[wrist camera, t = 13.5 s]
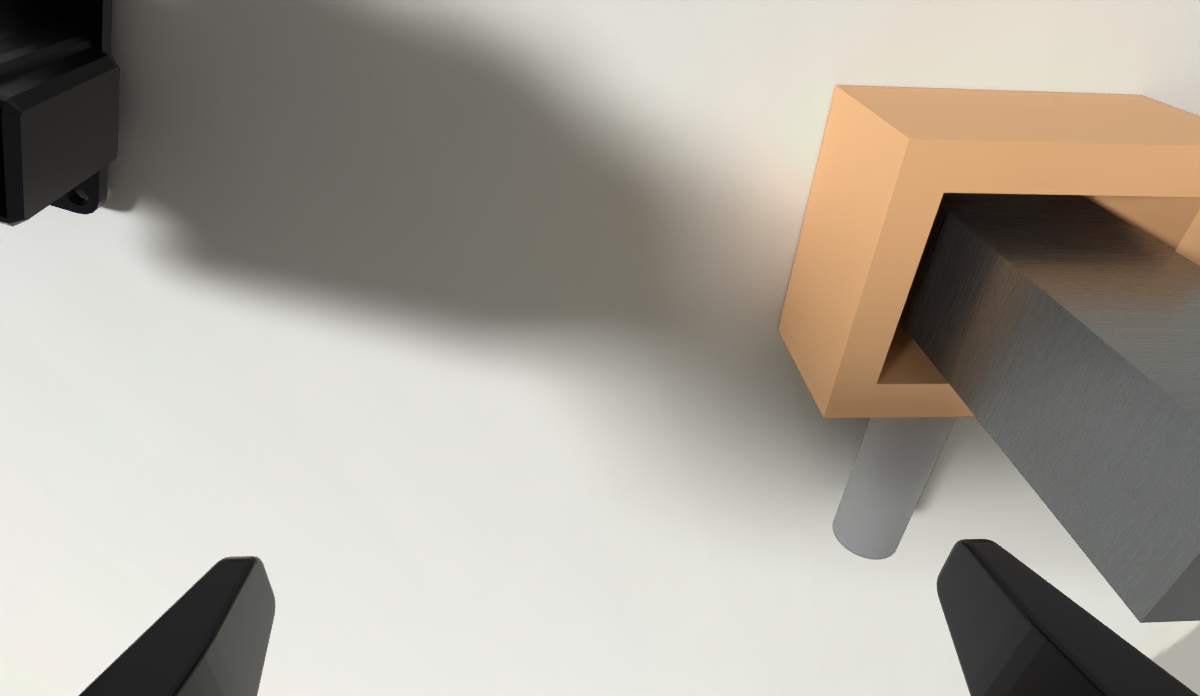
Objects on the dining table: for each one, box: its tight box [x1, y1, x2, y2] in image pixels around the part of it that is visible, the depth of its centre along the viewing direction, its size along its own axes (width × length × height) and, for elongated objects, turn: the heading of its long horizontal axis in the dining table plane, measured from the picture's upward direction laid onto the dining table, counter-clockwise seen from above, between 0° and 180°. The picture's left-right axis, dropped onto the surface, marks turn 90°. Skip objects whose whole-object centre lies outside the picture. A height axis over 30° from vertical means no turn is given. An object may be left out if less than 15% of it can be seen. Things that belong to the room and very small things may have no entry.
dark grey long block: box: [899, 193, 1200, 623], centre depth 16 cm, size 4×4×12 cm
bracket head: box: [778, 85, 1200, 559], centre depth 21 cm, size 17×16×6 cm
